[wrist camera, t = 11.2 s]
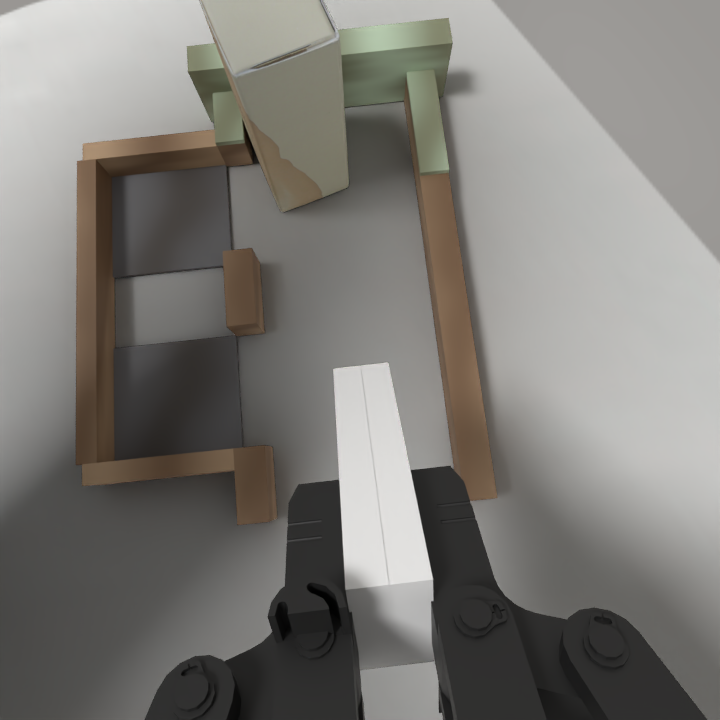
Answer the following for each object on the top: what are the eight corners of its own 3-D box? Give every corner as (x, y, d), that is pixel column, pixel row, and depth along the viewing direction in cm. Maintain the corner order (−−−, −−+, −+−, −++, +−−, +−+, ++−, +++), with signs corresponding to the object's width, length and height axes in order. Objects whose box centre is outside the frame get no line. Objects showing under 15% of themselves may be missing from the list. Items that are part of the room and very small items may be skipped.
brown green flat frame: (97, 536, 27) (49, 548, 23) (95, 111, 32) (56, 60, 28) (503, 494, 27) (525, 498, 23) (439, 74, 32) (448, 17, 28)
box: (250, 141, 31) (183, -37, 20) (319, 114, 31) (290, -75, 20) (282, 218, 30) (231, 75, 19) (354, 190, 30) (343, 33, 19)
